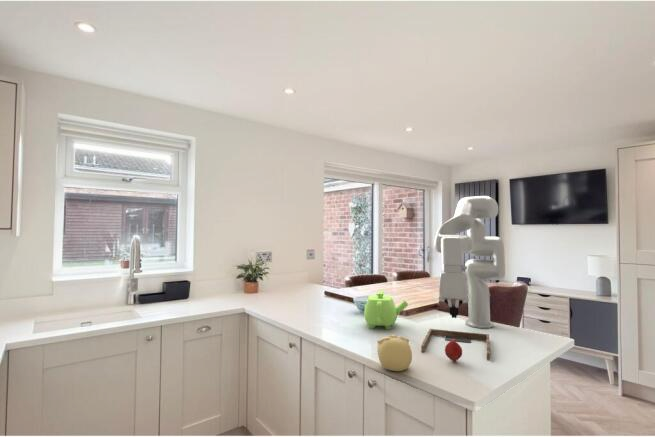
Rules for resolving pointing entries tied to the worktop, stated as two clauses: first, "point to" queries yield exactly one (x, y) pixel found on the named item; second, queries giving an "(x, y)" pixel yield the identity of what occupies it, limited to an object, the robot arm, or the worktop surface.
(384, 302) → the teapot
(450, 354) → the onion
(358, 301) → the chinaware
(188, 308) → the worktop surface
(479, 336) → the wooden u-shaped frame
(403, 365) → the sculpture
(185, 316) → the worktop surface
